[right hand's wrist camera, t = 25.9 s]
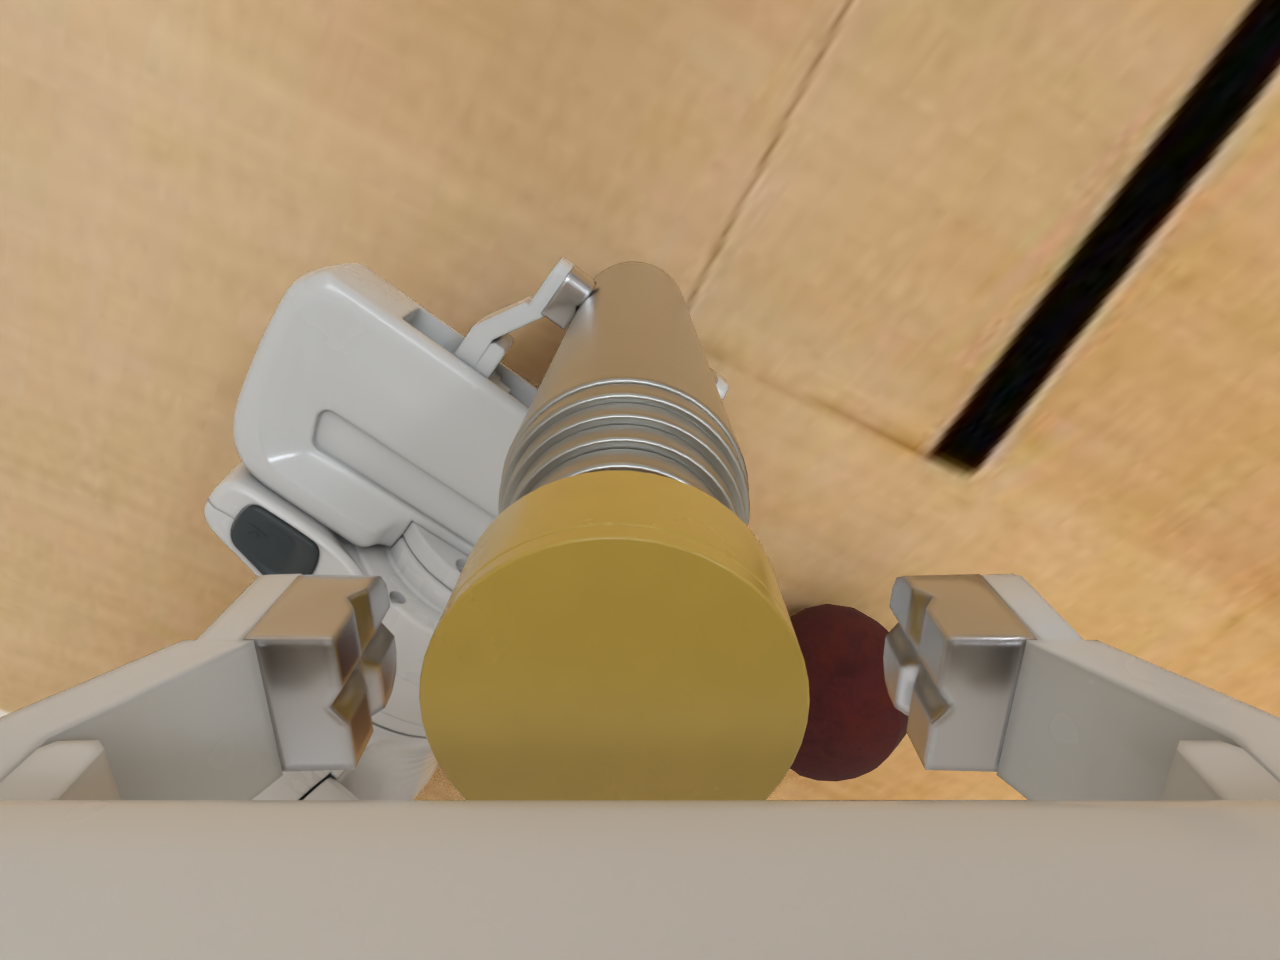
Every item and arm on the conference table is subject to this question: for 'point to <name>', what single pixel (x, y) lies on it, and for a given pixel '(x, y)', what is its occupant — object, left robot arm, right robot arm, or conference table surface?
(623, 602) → the cap
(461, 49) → the conference table surface
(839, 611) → the potato
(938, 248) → the conference table surface
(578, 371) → the bottle
